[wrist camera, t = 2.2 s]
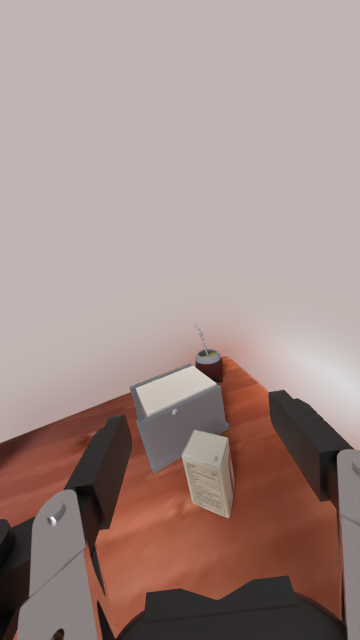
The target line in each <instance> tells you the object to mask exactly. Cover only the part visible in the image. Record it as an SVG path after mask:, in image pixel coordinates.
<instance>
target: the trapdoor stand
mask: <svg viewBox="0 0 360 640" xmlns="http://www.w3.org/2000/svg"><path fill="white" fill-rule="evenodd" d="M190 366H192V365H191V364H188V365H185V366H182V367H180V368H177V369H175V370H172V371H170V372H167V373H164V374H162V375H159V376H157V377H154V378H151V379H149V380H146V381H144V382H141V383H138V384H136V385H134V386H131V387H130V390H131V394H132V398H133V402H134V405H135V409H136V413H137V417H138V420H136V423H137V426H138V429H139V432H140V435H141V438H142V441H143V445H144V448H145V451H146V454H147V457H148V460H149V463H150V466H151V469H152V472H153V474H154V473H156V472H158V471H159V470H161V469H163V468H165V467H166V466H168V465H170V464H171V463H173V462H175V461H176V460H178V459H180V458H181V457H182V456H181V455H182V453H183V451H184V449H185V447H186V444H187V443H188V441H189V439H190V437H191V435H192V433H193V431H194V430H198V431H203V432H207V433H211V434H215V435H220V434H222V433H223V432H225V431H227V430H228V429H230V427H229V424H228V423H227V422H226V419H225V412H224V405H223V398H222V391H221V386H219V385H216V386H214V387H212V388H210V389H207V390H205V391H203V392H201V393H199V394H197V395H195V396H193V397H190V398H188V399H186V400H184V401H182V402H180V403H178V404H175V405H173V406H171V407H169V408H167V409H165V410H163V411H160V412H158V413H156V414H154V415H152V416H150V417H148V418H145V419H144V416H143V414H142V410H141V406H140V403H139V399H138V395H137V391H136V388H137V387H140V386H142V385H145V384H147V383H150V382H152V381H155V380H157V379H160V378H162V377H165V376H167V375H170V374H173V373H175V372H178V371H180V370H183V369H185V368H188V367H190Z"/></svg>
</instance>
